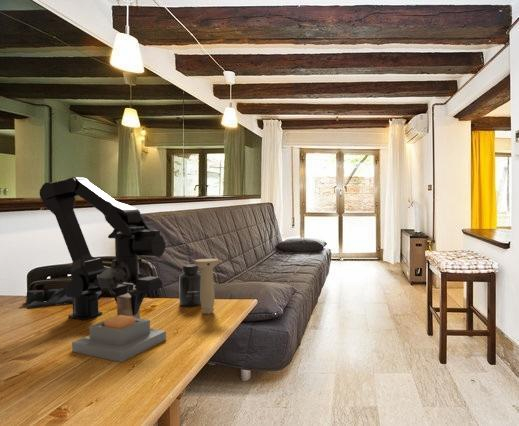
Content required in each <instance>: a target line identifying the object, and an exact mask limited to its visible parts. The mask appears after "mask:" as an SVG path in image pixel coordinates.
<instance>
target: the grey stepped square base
mask: <svg viewBox="0 0 519 426" xmlns="http://www.w3.org/2000/svg"><path fill="white" fill-rule="evenodd" d="M150 321H151V320H150V319H145V318H141V317H140V318H135V323H134V324H131V325H129V326H126V327H124V328H122V329H117V328H112V327H106V326H105V322H104V320H103V321H101V322H98V323H96V324H92V325H90V326H89V327H88V330H89V335H87V336H84V337H82V338H80V339H77V340H75V341H72V342H71V351H72V352H74V353H78V354H83V355H86V356H91V357H96V358H100V359H105V360H110V361H115V362H119V363H123V362H124V361H126V360H128V359H131V358H133V357H135V356H136V355H138V354H141V353H143V352H145V351H146V350H149V349H150V348H153V347H154V346H156V345H159V344H160V343H162V342H164V341H166V340H167V331H166V330H161V329H155V328H151V322H150Z"/></svg>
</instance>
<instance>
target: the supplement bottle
mask: <svg viewBox="0 0 519 426" xmlns="http://www.w3.org/2000/svg"><path fill="white" fill-rule="evenodd" d="M199 271H200V270H199V267H198V266H196V265H195V263H188V264H183V265H182V270H181V272H183V273H181V274H180V275H179V279H178V282H179V283H178V284H179V286H178V287H179V288H178V290H179V295H178V296H179V297H178V298H179V305H180V306H182V307H189V308H190V307H197V306H200V305H201V299H200V298H201V297H200V285H201V273H199Z"/></svg>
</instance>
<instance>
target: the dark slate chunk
mask: <svg viewBox="0 0 519 426" xmlns="http://www.w3.org/2000/svg"><path fill="white" fill-rule="evenodd" d="M65 288H66V287H65ZM65 288H64V287H63V288H53V289H47V290H43V289H38V290H37V289H36V290H35V289H34V290H28V291H26V300H25V302H26V308H28V307H34V308H37V307H36V306H44V307H50V306H49V305H54V306H57V305H56V304H60V305H65V304H64V303H69V304H73V301H72V297H67V296H66V293H65ZM96 293H97V299H99V297H100V296H101V295H102V293H103V291H99V292H96ZM43 301H46V302H43Z"/></svg>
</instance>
